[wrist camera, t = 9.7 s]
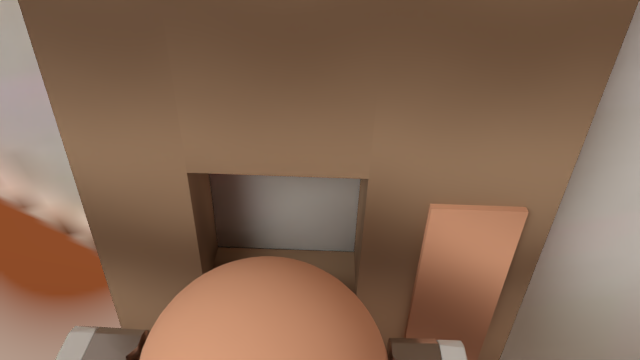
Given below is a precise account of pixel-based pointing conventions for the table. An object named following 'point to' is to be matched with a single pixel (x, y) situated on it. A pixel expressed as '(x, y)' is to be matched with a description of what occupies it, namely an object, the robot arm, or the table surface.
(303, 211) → the table surface
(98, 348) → the robot arm
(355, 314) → the terracotta ball
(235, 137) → the walnut ball rack
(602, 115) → the table surface
